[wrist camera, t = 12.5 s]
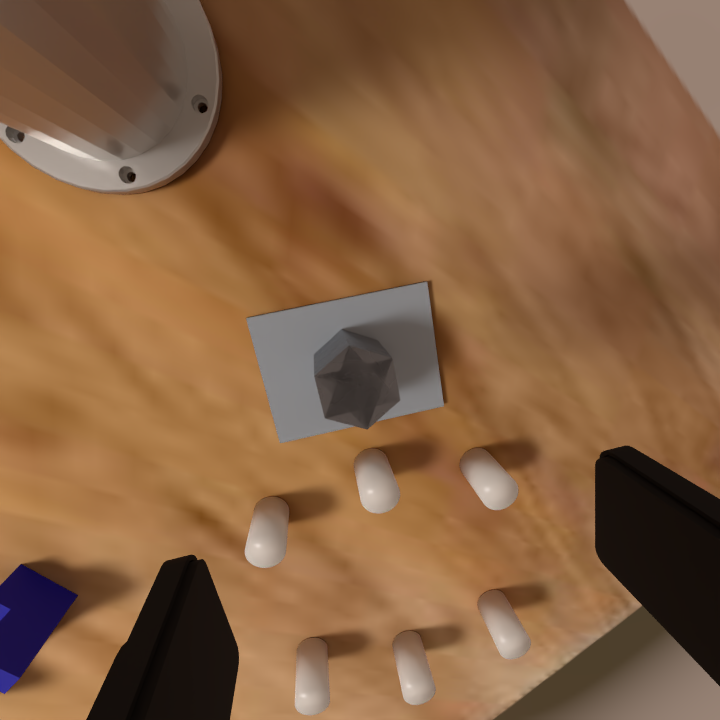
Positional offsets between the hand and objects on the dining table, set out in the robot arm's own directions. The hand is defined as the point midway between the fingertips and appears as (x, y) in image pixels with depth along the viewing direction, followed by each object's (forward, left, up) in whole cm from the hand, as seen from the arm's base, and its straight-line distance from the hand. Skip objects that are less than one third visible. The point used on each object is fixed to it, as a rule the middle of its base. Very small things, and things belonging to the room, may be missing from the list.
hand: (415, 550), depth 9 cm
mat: (0, 0, -18) cm, 18 cm away
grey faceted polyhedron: (0, 0, -18) cm, 18 cm away
